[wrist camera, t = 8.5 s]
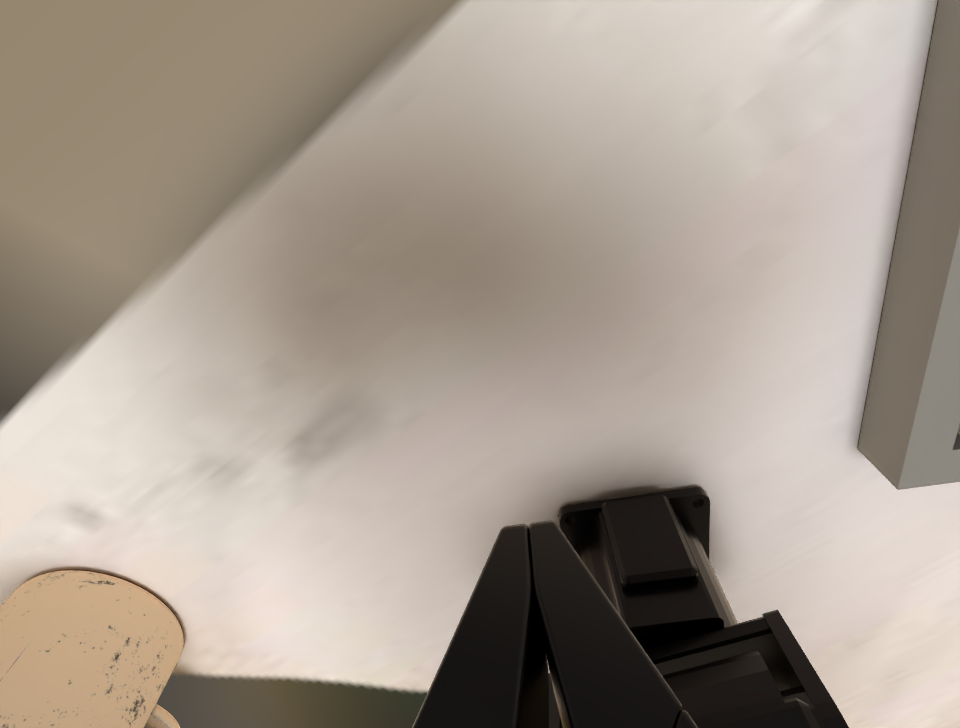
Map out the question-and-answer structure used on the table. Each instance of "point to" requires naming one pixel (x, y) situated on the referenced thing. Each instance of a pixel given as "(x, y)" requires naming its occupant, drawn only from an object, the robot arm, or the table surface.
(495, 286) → the table surface
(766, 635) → the robot arm
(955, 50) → the panel
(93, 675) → the teacup with lid
